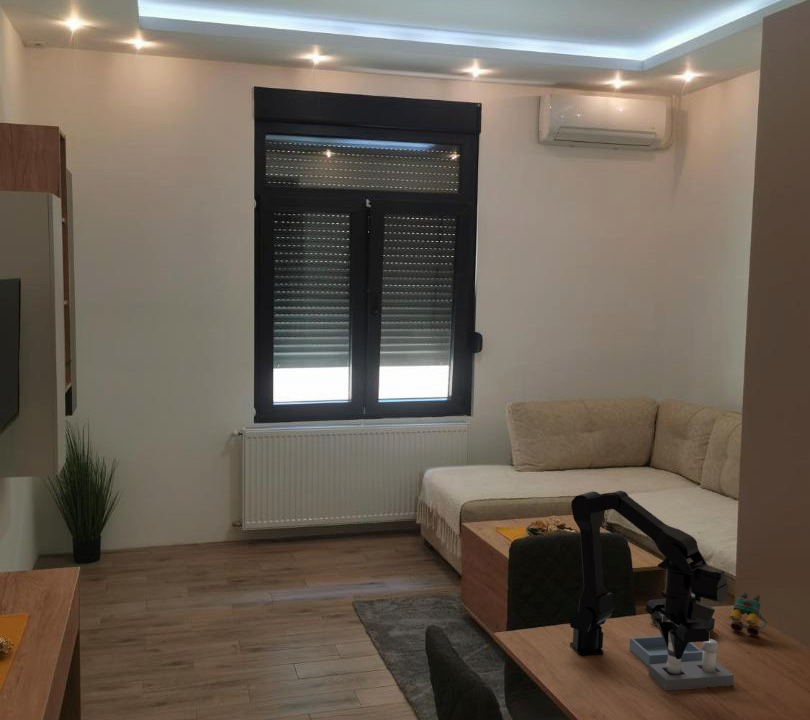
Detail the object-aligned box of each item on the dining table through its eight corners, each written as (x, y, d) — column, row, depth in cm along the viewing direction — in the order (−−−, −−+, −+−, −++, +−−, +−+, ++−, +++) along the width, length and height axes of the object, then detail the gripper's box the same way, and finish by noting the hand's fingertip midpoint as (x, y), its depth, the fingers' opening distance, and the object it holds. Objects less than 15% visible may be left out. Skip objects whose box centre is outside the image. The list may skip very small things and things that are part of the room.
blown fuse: (670, 674, 194) (673, 636, 194) (663, 667, 198) (666, 630, 197) (683, 673, 195) (685, 635, 194) (676, 666, 198) (678, 629, 197)
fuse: (705, 682, 197) (707, 645, 196) (698, 676, 200) (700, 639, 199) (717, 681, 197) (720, 644, 196) (710, 675, 200) (712, 638, 200)
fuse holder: (665, 690, 192) (666, 680, 192) (648, 674, 200) (649, 664, 199) (733, 685, 195) (733, 675, 195) (713, 669, 203) (714, 659, 203)
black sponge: (717, 631, 227) (717, 618, 226) (705, 641, 220) (706, 627, 220) (658, 615, 237) (659, 602, 237) (645, 624, 230) (646, 611, 230)
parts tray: (648, 667, 203) (649, 655, 203) (629, 649, 213) (629, 637, 213) (702, 663, 206) (703, 651, 206) (680, 646, 216) (681, 634, 216)
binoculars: (727, 635, 229) (723, 611, 224) (735, 608, 235) (732, 584, 230) (763, 644, 224) (761, 620, 219) (771, 617, 230) (769, 592, 225)
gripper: (733, 603, 187) (729, 671, 189) (688, 574, 205) (685, 637, 207) (687, 606, 185) (683, 675, 186) (646, 576, 203) (642, 639, 204)
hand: (674, 655), depth 196 cm, fingers closed on blown fuse, 3 cm apart
